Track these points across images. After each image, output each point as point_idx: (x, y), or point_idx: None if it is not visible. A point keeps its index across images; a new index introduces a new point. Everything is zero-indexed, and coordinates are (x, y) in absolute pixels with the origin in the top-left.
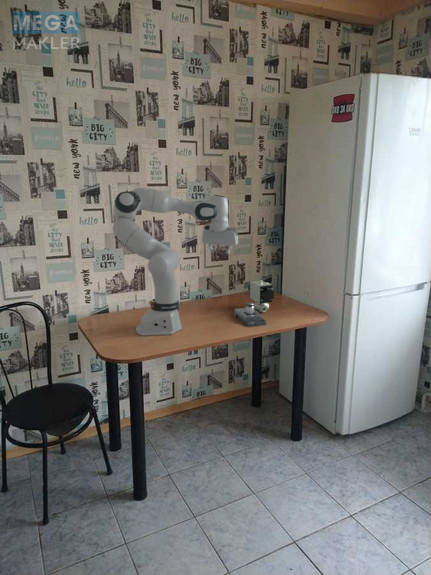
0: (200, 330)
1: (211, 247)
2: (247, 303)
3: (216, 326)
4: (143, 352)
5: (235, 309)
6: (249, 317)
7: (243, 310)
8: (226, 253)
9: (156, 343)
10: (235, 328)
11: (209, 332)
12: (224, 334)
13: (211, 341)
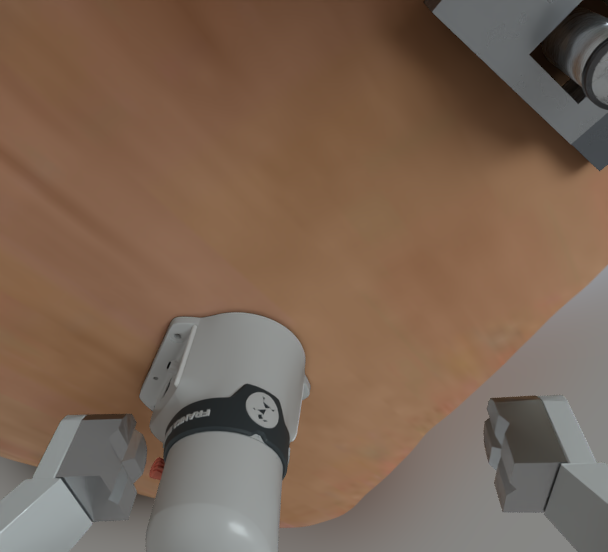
0: (380, 313)
1: (46, 541)
2: (602, 84)
3: (420, 242)
4: (337, 490)
5: (445, 24)
6: (599, 113)
7: (516, 10)
8: (492, 436)
9: (321, 448)
10: (527, 217)
11: (430, 312)
12: (505, 300)
13: (485, 371)
